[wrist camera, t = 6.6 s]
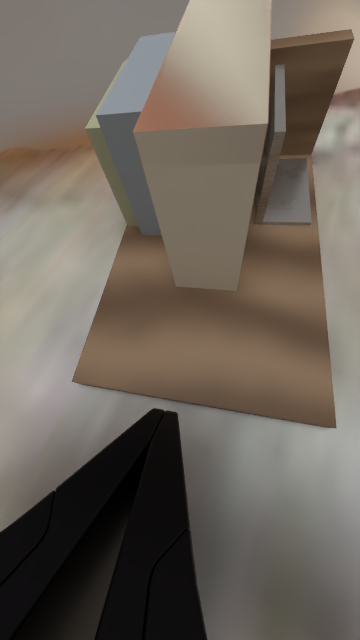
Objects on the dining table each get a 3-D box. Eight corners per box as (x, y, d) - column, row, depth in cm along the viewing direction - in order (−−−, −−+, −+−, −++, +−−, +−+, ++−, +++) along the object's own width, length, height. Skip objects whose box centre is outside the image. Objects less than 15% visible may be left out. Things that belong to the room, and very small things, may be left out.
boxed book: (236, 291, 16) (268, 123, 7) (175, 286, 17) (132, 132, 8) (247, 166, 21) (272, -20, 12) (200, 167, 22) (192, -6, 13)
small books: (174, 236, 19) (148, 110, 11) (125, 234, 20) (69, 117, 12) (192, 162, 23) (181, 30, 15) (149, 163, 24) (119, 40, 16)
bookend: (310, 225, 17) (359, 126, 12) (254, 224, 18) (274, 132, 12) (305, 161, 21) (342, 58, 15) (258, 162, 21) (275, 65, 15)
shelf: (327, 427, 13) (479, 438, 5) (79, 383, 16) (-34, 353, 9) (306, 155, 22) (351, 29, 15) (154, 161, 25) (131, 58, 18)
